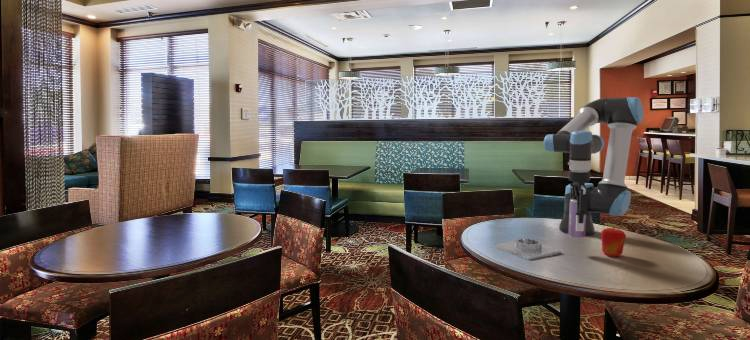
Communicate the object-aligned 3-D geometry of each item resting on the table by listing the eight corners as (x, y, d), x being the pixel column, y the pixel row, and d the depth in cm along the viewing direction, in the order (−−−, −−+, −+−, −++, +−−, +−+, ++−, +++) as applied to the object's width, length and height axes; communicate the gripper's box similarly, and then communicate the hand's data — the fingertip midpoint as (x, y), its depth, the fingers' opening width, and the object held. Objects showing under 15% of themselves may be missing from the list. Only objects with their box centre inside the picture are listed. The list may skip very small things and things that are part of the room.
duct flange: (527, 241, 180) (527, 233, 180) (561, 253, 164) (562, 244, 163) (495, 247, 172) (495, 238, 172) (528, 259, 156) (528, 250, 156)
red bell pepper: (629, 259, 157) (631, 228, 156) (606, 258, 158) (608, 228, 156) (616, 252, 166) (618, 223, 164) (595, 251, 166) (597, 223, 165)
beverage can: (586, 239, 160) (588, 201, 158) (570, 238, 162) (572, 201, 160) (582, 235, 166) (584, 198, 164) (566, 234, 167) (568, 198, 165)
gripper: (562, 167, 170) (560, 222, 173) (577, 174, 152) (574, 235, 155) (581, 167, 169) (579, 222, 172) (598, 174, 151) (595, 235, 154)
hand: (576, 228), depth 163 cm, fingers closed on beverage can, 6 cm apart
